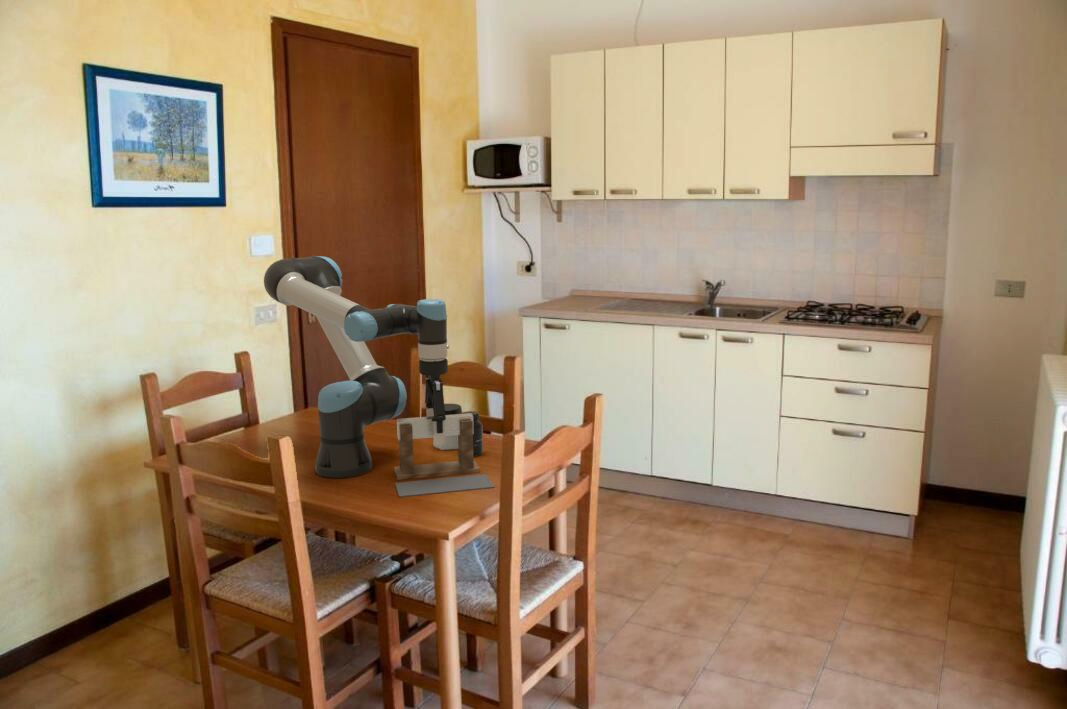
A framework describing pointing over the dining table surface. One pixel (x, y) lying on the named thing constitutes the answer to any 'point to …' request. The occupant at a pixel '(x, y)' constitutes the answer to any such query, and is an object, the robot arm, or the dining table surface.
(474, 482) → the mat
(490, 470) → the dining table surface
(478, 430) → the supplement bottle
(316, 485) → the dining table surface
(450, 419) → the rail
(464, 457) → the stand
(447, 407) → the jar
